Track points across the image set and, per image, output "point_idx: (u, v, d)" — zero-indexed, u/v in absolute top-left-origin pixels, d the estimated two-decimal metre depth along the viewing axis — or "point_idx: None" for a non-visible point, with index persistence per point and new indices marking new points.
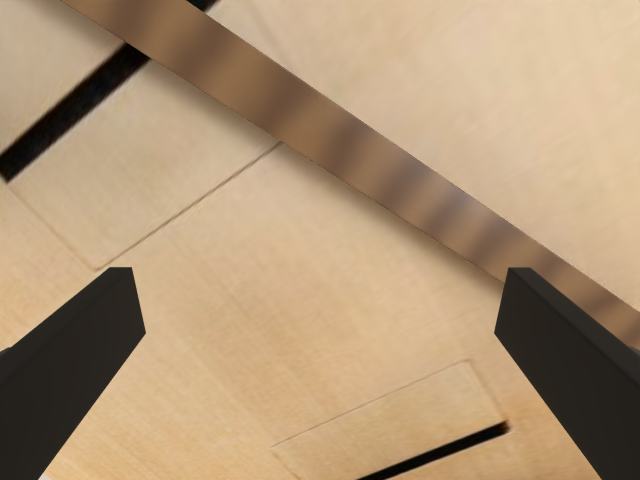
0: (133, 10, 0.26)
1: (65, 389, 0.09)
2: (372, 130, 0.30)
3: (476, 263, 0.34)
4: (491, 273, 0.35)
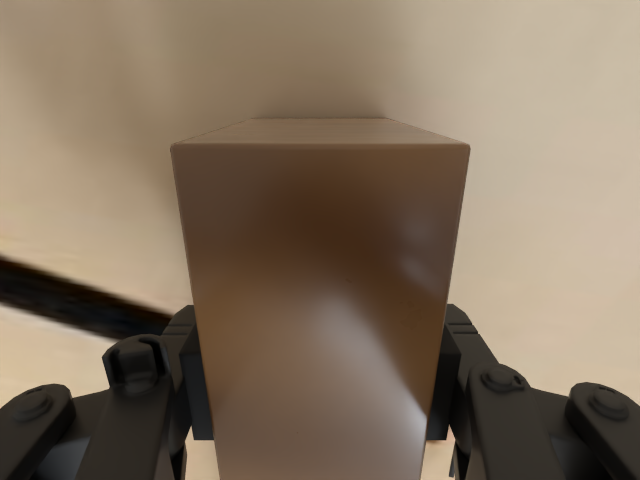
0: None
1: None
2: None
3: None
4: None
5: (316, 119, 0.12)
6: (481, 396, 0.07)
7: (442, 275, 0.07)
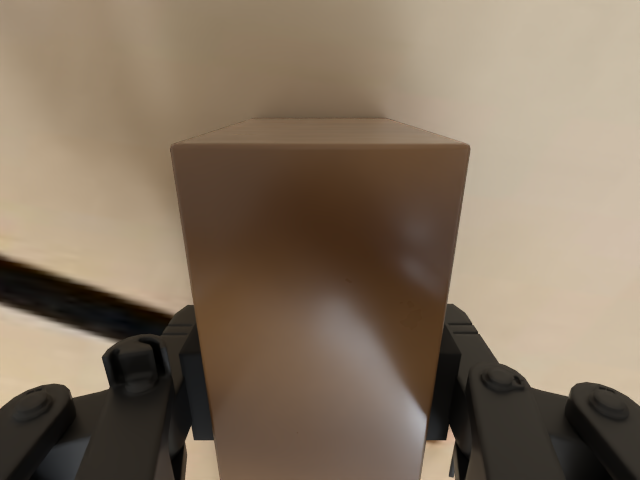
0: None
1: None
2: None
3: None
4: None
5: (316, 119, 0.12)
6: (481, 396, 0.07)
7: (442, 274, 0.07)
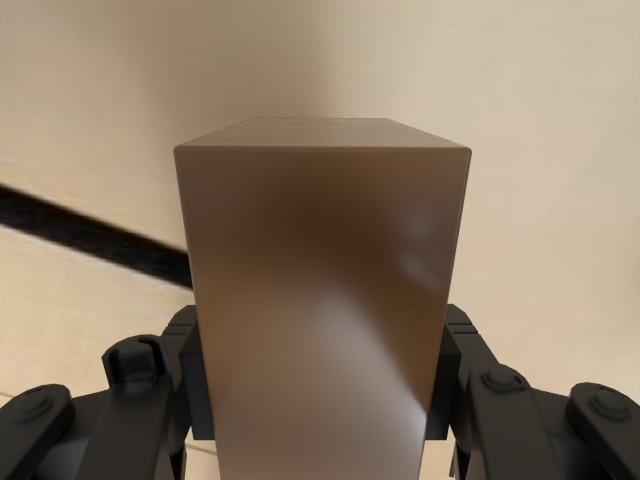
0: None
1: None
2: None
3: None
4: None
5: (317, 119, 0.12)
6: (481, 396, 0.07)
7: (443, 276, 0.07)
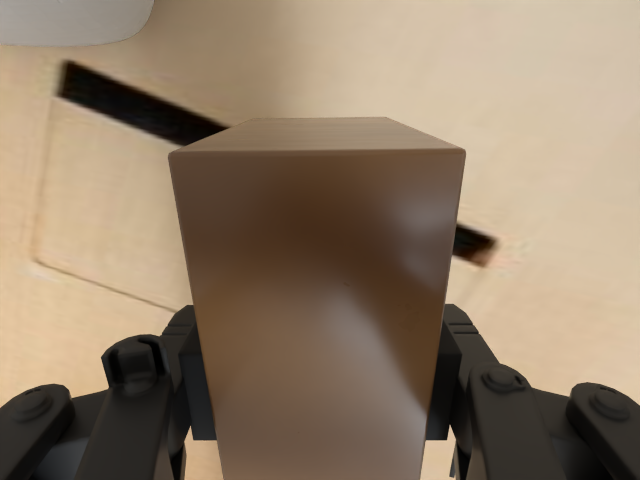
0: None
1: None
2: None
3: None
4: None
5: (315, 119, 0.12)
6: (482, 396, 0.07)
7: (439, 278, 0.07)
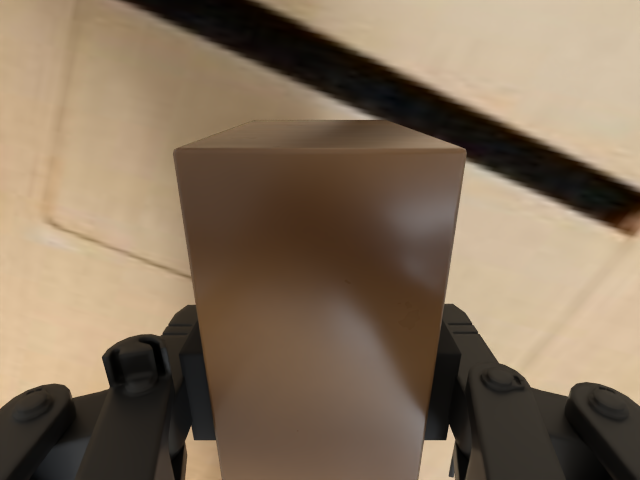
0: None
1: None
2: None
3: None
4: None
5: (316, 121, 0.12)
6: (481, 396, 0.07)
7: (439, 276, 0.07)
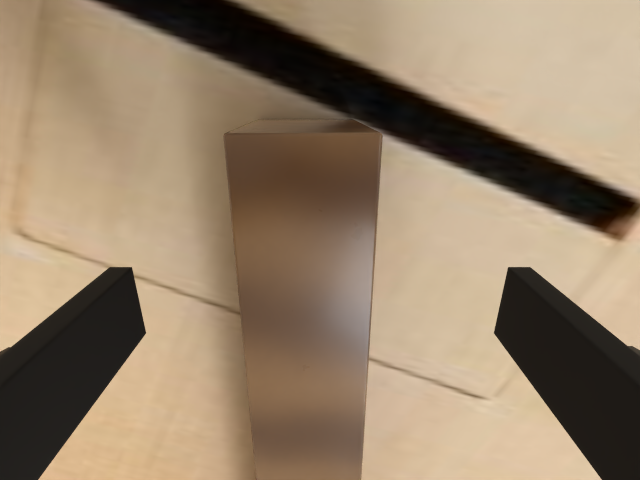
0: (303, 439, 0.16)
1: (65, 389, 0.09)
2: None
3: None
4: None
5: (303, 120, 0.17)
6: None
7: (372, 206, 0.12)
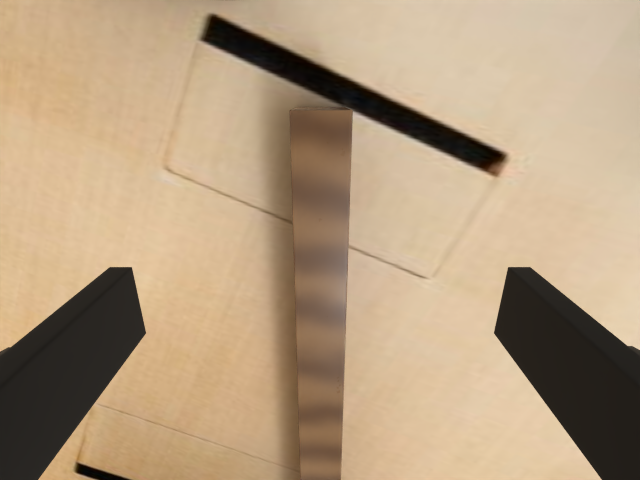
0: (318, 261, 0.33)
1: (65, 389, 0.09)
2: (341, 422, 0.40)
3: None
4: None
5: (319, 107, 0.34)
6: None
7: (349, 141, 0.29)
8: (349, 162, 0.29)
